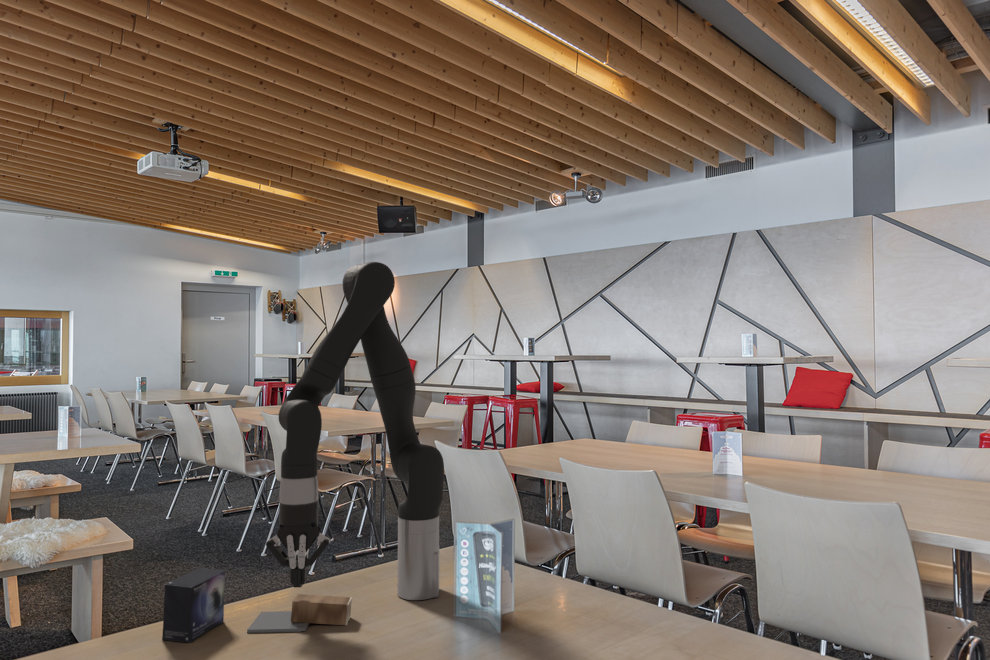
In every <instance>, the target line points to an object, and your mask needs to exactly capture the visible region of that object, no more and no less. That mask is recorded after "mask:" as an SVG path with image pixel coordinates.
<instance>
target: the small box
mask: <svg viewBox="0 0 990 660" xmlns="http://www.w3.org/2000/svg"><path fill="white" fill-rule="evenodd" d="M225 577H226V570H223V569H214V568H206V567H198V568H196V569H194V570H191V571H190V572H186V573H185V574H183V575H181V576H178V577H176V578H175V579H173V580H171V581H168V582H166V583H164V586H163V587H164V591H163V592H164V593H163V619H162V620H163V621H162V637H161V639H162V641H170V642H179V643H186V644H187V643H189V644H191V643H192V642H194V641H195V640H197V639H199V638H200V637H202V636H204V635H205V634H206V633H208V632H210V631H211V630H213V629H214V628H217V627H218V626H219V625H221V624H222V623H224V615H225V614H224V613H225V584H226V583H225V580H226V578H225Z"/></svg>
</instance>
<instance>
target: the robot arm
mask: <svg viewBox="0 0 990 660" xmlns="http://www.w3.org/2000/svg"><path fill="white" fill-rule="evenodd" d="M342 277H343V278H342V291H343V294H344V298H345V301H346V303H347V305H346V307H345V308H344V310H343V312H342V314H341V315H340V316H339V318H338V320H337V321H336V322H335V323H334V325H332V328H330V330H329V331H328V332H327V334H326V335H325V336H324V337H323V338H322V339H321V341H320V343H319V344H318V345H317V347H316V349H315V350H314V352H313V353H312V355H311V357H310V359H309V361H308V362H307V364H306V367H305V368H304V371H303V372H302V374H301V376H300V378H299V380H298V381H297V382H296V383H295V385H294V386H293V388H292V389H291V390H290V391H289V393H288V395H287V396H286V397H285V399H284V401H283V403H282V405H281V406H280V408H279V412H278V422H279V424H280V427H282V429H283V430H284V431H286V438H285V440H286V442H285V448H284V449H283V451H282V453H281V458H280V460H281V461H280V483H279V494H278V501H279V505H278V506H279V510H278V515H279V516H278V517H279V518H278V519H279V520H278V521H279V523H278V524H279V525H278V529H277V530H276V535H274V536H273V537H271V538H269V539H268V540H267V541H266V543H265V546H266V548H267V549H268V550H269V551H270V553H271V554H272V555H273V557H275V559H276V561H278V563H279V564H280V565H281V566H282V567H285V566H286V567H288V568H289V569H290V583H291V585H293V588H296V589H297V588H302V587H303V585H305V584H306V581H307V578H308V577H307V568H308V567H309V566H313V565H314V563H315V562H316V561H317V560H318V558H319V557H320V556H321V554H322V553H323V552H324V550H325V549H326V548H327V547H328V545H329V544H330V543H331V541H332V537H330V536H326V535H325V534H323V533H322V531H321V527H320V525H319V481H318V450H319V446H320V440H321V434H322V424H323V423H322V421H323V419H322V414H321V409H320V408H319V406H320V404H321V403H322V402H323V399H324V398H325V397H326V396H328V395H329V394H331V393H332V392H333V390H334V388H336V385H337V383H338V382H339V380H340V378H341V376H342V374H343V372H344V370H345V368H346V366H347V364H348V362H349V360H350V359H351V357H352V354H353V353H354V351H355V349H356V347H357V346H358V344H359V343H360V342H361V347H362V350H363V353H364V358H365V361H366V365H367V369H368V373H369V374H368V375H369V377H370V380H371V384H372V388H373V391H374V395H375V397H376V400H377V404H378V407H379V408H378V409H379V411H380V416H381V418H382V423H383V426H384V429H385V436H386V441H387V446H388V453H389V458H390V464H391V467H392V471H393V473H394V475H395V477H396V478H397V479H398V480H399V481H401V482H403V483H406V484H407V485H408V488H407V498H406V499H404V500H403V501H401V502H400V503H399V504H398V506H397V585H396V586H397V596H398V597H400V598H401V599H403V600H408V601H422V600H428V599H429V600H431V599H433V598H439V595H440V508H441V506H442V503H443V498H444V486H445V485H444V483H445V482H444V481H445V480H444V479H445V464H444V458H443V455H442V453H441V451H440V450H439V449H438V448H437V447H435V446H432V445H429V444H421V442H420V439H419V437H418V436H419V435H418V433H417V430H416V426H415V423H414V414H413V413H414V404H415V399H416V391H417V390H416V380H415V377H414V373H413V369H412V365H411V362H410V359H409V356H408V355H407V352H406V349H405V348H404V347H403V345H402V343H401V342H400V340H399V339H398V337H397V335H396V334H395V332H394V331H393V329H392V328H391V327H392V326H391V325H390V322H389V320H388V318H387V314H386V310H385V306H384V305H386V303H387V302H388V300H389V299H390V297H391V296H392V294H393V292H394V290H395V285H396V282H395V281H396V279H395V276H394V273H393V271H392V270H391V268H390V267H389V266H387V265H386V264H385V263H382V262H378V261H368V262H363V263H359V264H355V265H352V266H351V267H349V268H348V269H347V271H345V273H344V275H343V276H342ZM316 540H317V541H316ZM315 542H316V544H317V545H316V546H317V548H316V550H315V551H314V552H313V553H312V555H311V556H309V550H310V548H311V547H312V546H313V544H314V543H315ZM281 544H282V545H283V547H284V548H285V549H286V550H287V552H285V551H286V550H284V549H283V548H282V546H281Z"/></svg>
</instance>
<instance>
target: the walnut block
mask: <svg viewBox="0 0 990 660" xmlns="http://www.w3.org/2000/svg"><path fill="white" fill-rule="evenodd" d="M352 602H353V597H352V596H351V597H350V596H337V595H336V596H334V595H321V594H320V595H319V594H318V595H317V594H316V595H315V594H302V593H301V594H300V593H297V594H296V596H295V597H294V598H293V600H292V603H291V604H292V605H291V611H292V613H291V622H300V623H310V624H315V625H316V624H320V625H337V626H348V624H349V622H348V621H350V619H351V614H352V613H351V612H352Z"/></svg>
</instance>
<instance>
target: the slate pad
mask: <svg viewBox="0 0 990 660" xmlns="http://www.w3.org/2000/svg"><path fill="white" fill-rule="evenodd" d="M291 613H292V610H288V611H287V610H286V611H285V610H283V611H281V610H279V611H275V610H274V611H261V612H260V613H258V615H257V617H256V618H254V620H253V622H252V623H251V624H250V625H249V627H248V628H247V629H246V633H247V634H250V633H251V634H257V633H300V632H301V631H305V632H306V631H307V629H308V627H309V626H308V625H310V624H311V623H300V622H291ZM301 633H302V632H301Z"/></svg>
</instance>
